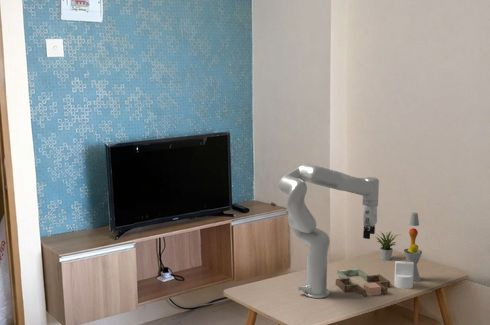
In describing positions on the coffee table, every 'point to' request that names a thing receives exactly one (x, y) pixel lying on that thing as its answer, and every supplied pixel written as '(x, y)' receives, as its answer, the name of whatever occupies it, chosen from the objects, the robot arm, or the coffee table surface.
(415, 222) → the lava lamp
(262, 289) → the coffee table surface
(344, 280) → the box
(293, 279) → the coffee table surface
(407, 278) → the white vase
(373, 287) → the terracotta block
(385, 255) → the house plant
